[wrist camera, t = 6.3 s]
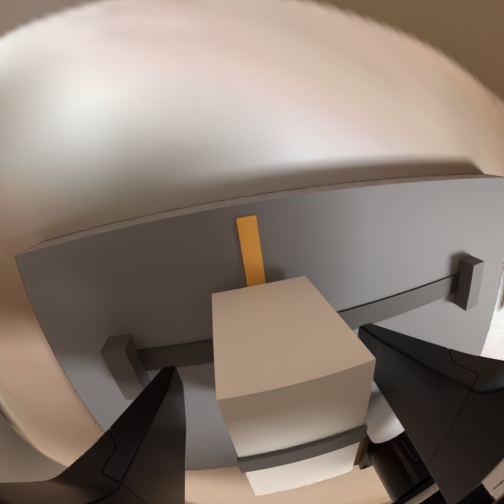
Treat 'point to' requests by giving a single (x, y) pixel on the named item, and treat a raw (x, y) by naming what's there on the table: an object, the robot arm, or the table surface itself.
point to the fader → (289, 383)
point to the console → (261, 272)
